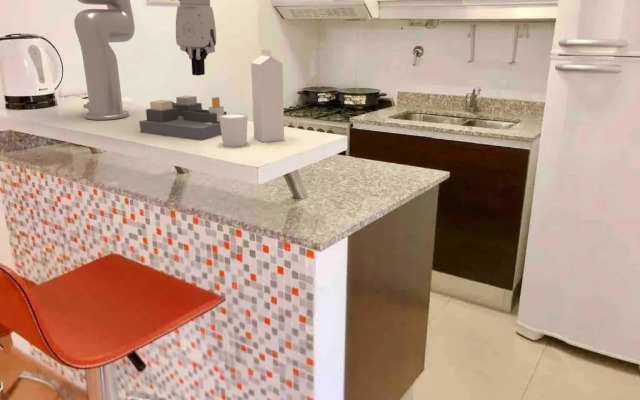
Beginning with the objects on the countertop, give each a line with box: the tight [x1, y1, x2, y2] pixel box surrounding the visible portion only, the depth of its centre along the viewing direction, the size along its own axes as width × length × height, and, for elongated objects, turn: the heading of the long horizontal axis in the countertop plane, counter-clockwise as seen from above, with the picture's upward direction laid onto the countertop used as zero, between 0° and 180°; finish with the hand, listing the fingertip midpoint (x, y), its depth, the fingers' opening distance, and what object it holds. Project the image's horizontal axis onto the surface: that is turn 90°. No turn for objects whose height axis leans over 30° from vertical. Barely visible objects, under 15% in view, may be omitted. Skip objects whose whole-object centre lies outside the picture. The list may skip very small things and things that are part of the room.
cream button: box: [149, 99, 173, 111], centre depth 144 cm, size 4×4×4 cm
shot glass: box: [219, 113, 249, 148], centre depth 129 cm, size 7×7×7 cm
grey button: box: [175, 95, 198, 106], centre depth 152 cm, size 4×4×4 cm
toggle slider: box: [208, 96, 225, 122], centre depth 141 cm, size 3×3×6 cm
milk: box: [250, 48, 285, 143], centre depth 133 cm, size 6×6×22 cm
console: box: [139, 102, 228, 141], centre depth 146 cm, size 21×19×6 cm
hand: (198, 74), depth 141 cm, fingers closed
